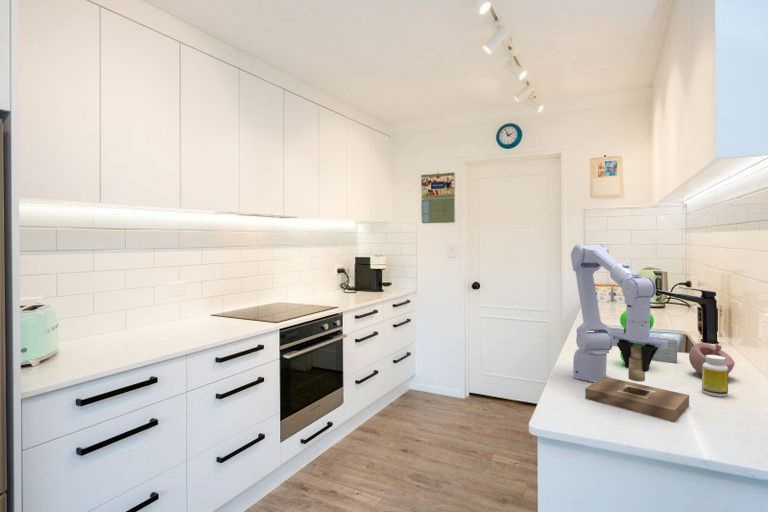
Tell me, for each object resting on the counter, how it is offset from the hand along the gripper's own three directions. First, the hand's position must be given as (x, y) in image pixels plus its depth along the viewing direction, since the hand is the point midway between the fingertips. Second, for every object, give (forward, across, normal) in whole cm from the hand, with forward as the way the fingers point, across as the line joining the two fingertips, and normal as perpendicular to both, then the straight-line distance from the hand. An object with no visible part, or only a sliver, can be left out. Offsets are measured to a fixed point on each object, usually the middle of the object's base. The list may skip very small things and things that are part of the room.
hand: (636, 368), depth 123 cm
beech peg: (+3, 0, 0) cm, 3 cm away
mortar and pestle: (+10, -5, -43) cm, 44 cm away
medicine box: (+10, +12, -52) cm, 54 cm away
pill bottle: (+10, -11, -26) cm, 29 cm away
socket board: (+10, 0, 0) cm, 10 cm away
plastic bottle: (+10, +15, -35) cm, 40 cm away
